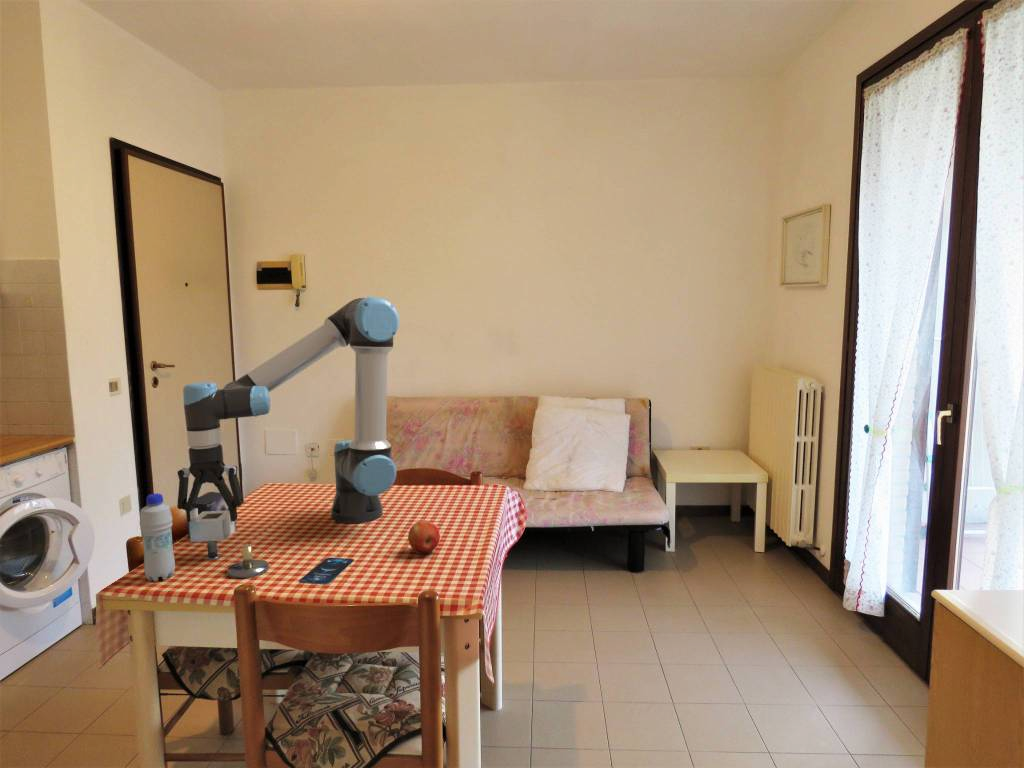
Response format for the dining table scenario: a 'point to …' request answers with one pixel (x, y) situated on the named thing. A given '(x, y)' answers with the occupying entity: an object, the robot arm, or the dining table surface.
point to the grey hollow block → (209, 526)
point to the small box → (209, 504)
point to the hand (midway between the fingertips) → (213, 534)
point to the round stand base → (247, 565)
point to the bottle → (157, 538)
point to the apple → (423, 537)
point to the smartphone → (326, 571)
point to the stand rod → (212, 550)
